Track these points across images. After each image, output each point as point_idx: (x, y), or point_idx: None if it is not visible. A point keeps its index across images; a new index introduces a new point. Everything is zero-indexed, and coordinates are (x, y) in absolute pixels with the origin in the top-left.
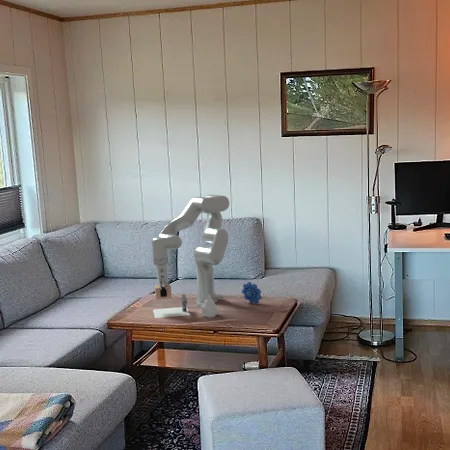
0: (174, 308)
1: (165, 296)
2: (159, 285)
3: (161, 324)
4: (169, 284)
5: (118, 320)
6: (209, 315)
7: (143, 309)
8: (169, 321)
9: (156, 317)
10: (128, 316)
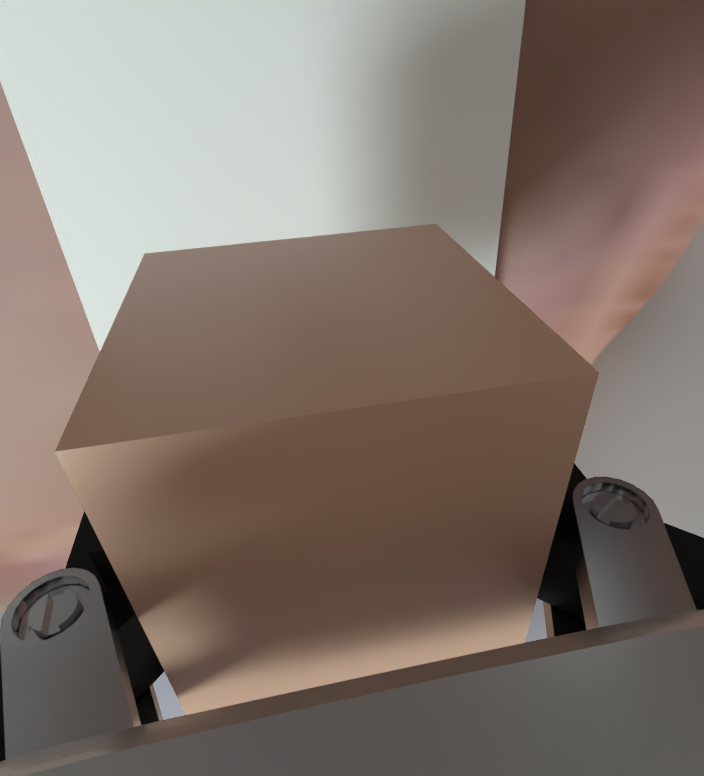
0: (66, 117)
1: None
2: (253, 690)
3: (655, 287)
4: (172, 456)
5: None
6: None
7: (40, 503)
8: (599, 199)
9: None
10: None
